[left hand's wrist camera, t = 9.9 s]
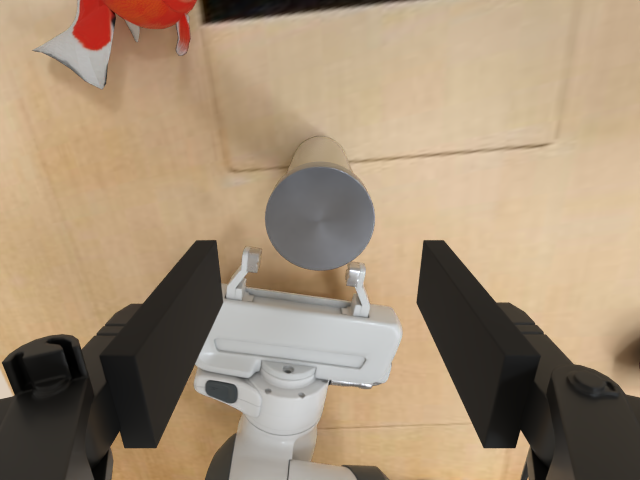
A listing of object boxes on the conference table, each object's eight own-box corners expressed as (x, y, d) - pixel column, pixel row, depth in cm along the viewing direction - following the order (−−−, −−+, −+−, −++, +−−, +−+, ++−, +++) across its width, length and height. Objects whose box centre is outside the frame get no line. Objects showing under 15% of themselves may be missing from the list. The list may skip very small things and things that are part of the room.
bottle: (292, 188, 37) (271, 260, 21) (293, 134, 35) (271, 168, 19) (344, 191, 37) (363, 264, 21) (348, 137, 35) (372, 173, 19)
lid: (268, 257, 22) (265, 268, 21) (268, 158, 20) (264, 163, 19) (366, 261, 22) (369, 273, 21) (376, 163, 20) (380, 169, 19)
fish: (229, 108, 30) (117, 49, 21) (102, 109, 36) (-27, 64, 27) (245, -29, 29) (136, -152, 20) (112, -3, 35) (-16, -88, 26)
